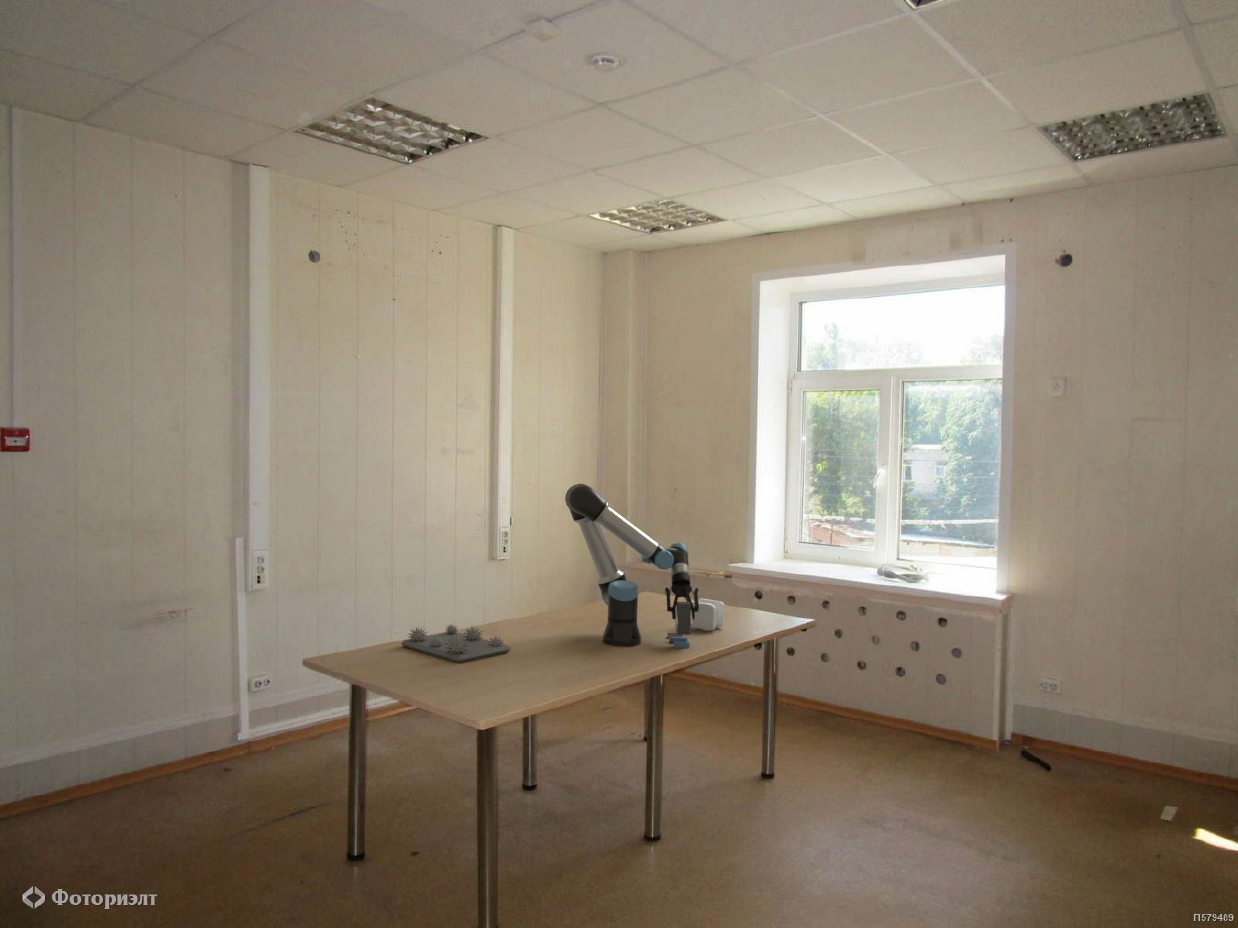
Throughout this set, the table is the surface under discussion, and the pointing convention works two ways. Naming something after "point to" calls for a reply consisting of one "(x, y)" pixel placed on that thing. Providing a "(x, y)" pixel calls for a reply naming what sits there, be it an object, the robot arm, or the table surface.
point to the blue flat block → (680, 642)
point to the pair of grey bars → (673, 636)
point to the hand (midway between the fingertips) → (684, 625)
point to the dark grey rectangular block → (683, 618)
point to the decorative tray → (455, 644)
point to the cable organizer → (709, 615)
